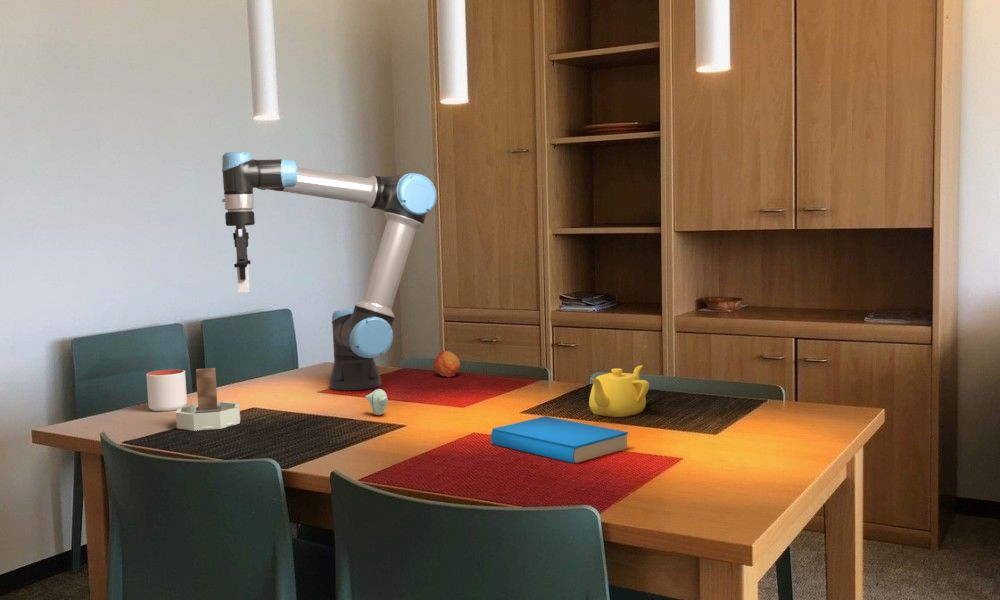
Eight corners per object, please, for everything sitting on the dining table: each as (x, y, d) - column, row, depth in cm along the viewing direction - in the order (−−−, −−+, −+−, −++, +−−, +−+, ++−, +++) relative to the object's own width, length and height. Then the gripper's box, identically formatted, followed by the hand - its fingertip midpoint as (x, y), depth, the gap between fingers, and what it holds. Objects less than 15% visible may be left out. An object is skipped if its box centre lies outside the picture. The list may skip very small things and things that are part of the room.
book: (544, 416, 227) (628, 430, 209) (545, 434, 227) (629, 450, 209) (489, 429, 216) (573, 445, 197) (490, 448, 216) (574, 466, 198)
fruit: (450, 373, 311) (449, 348, 310) (466, 376, 305) (465, 350, 304) (430, 376, 306) (429, 351, 305) (445, 379, 300) (444, 353, 299)
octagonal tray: (241, 415, 257) (240, 399, 257) (239, 427, 242) (238, 411, 242) (179, 419, 254) (178, 404, 253) (174, 432, 239) (173, 416, 238)
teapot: (624, 424, 231) (623, 378, 230) (570, 417, 242) (569, 373, 241) (673, 408, 248) (672, 365, 247) (621, 401, 258) (620, 360, 257)
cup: (193, 404, 274) (190, 369, 273) (178, 412, 264) (175, 375, 263) (158, 405, 275) (156, 369, 274) (142, 412, 265) (139, 375, 264)
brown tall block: (218, 418, 249) (215, 367, 248) (217, 420, 247) (214, 369, 246) (199, 420, 248) (196, 369, 247) (199, 422, 246) (195, 370, 245)
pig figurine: (363, 414, 252) (362, 388, 252) (376, 412, 255) (375, 386, 254) (382, 418, 247) (381, 392, 246) (395, 416, 249) (394, 389, 249)
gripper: (226, 211, 274) (231, 287, 276) (223, 211, 250) (228, 294, 252) (254, 210, 276) (258, 286, 278) (253, 210, 251) (258, 293, 253)
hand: (244, 290), depth 265 cm, fingers open, 13 cm apart
